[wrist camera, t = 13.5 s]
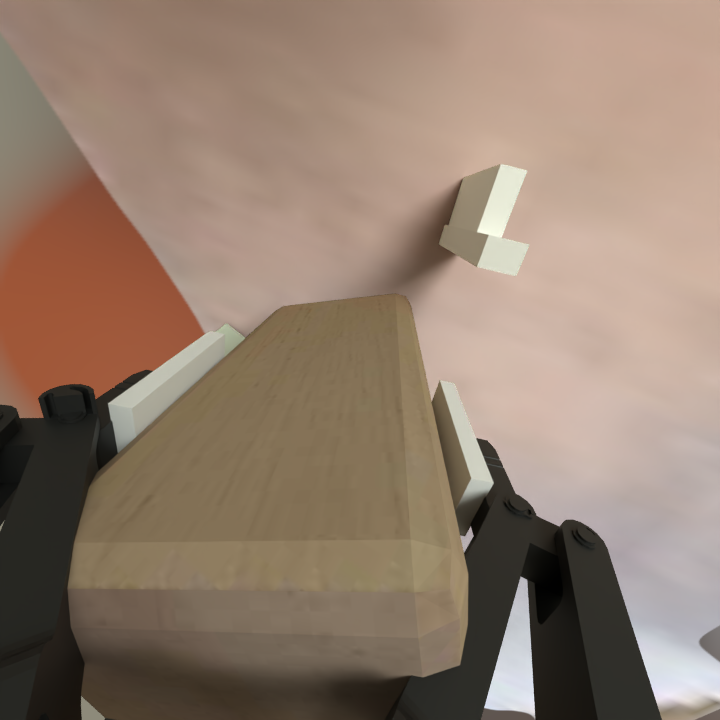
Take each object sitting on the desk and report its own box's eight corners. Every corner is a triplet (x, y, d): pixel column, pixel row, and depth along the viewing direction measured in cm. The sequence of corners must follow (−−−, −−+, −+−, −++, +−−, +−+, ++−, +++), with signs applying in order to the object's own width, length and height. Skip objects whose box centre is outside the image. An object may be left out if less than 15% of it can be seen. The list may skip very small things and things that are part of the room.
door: (379, 439, 34) (379, 502, 27) (361, 454, 35) (357, 518, 28) (226, 323, 29) (176, 361, 22) (211, 344, 30) (158, 387, 23)
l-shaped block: (459, 176, 23) (518, 153, 14) (485, 183, 24) (563, 164, 14) (366, 479, 37) (361, 579, 27) (383, 483, 37) (385, 584, 27)
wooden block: (302, 414, 28) (148, 781, 10) (274, 304, 24) (-72, 594, 6) (417, 406, 27) (473, 813, 9) (409, 288, 23) (484, 603, 5)
